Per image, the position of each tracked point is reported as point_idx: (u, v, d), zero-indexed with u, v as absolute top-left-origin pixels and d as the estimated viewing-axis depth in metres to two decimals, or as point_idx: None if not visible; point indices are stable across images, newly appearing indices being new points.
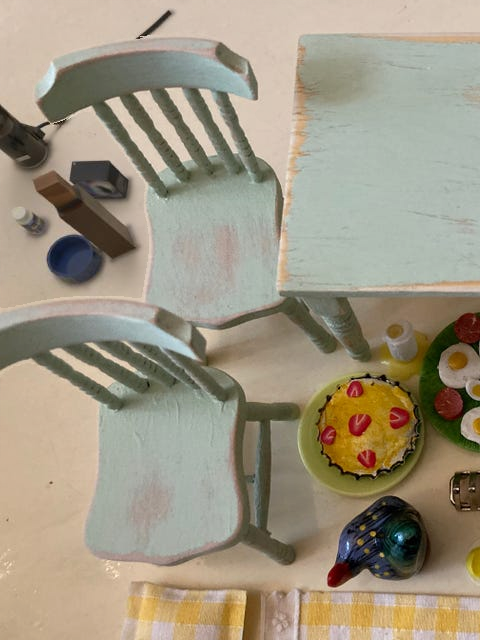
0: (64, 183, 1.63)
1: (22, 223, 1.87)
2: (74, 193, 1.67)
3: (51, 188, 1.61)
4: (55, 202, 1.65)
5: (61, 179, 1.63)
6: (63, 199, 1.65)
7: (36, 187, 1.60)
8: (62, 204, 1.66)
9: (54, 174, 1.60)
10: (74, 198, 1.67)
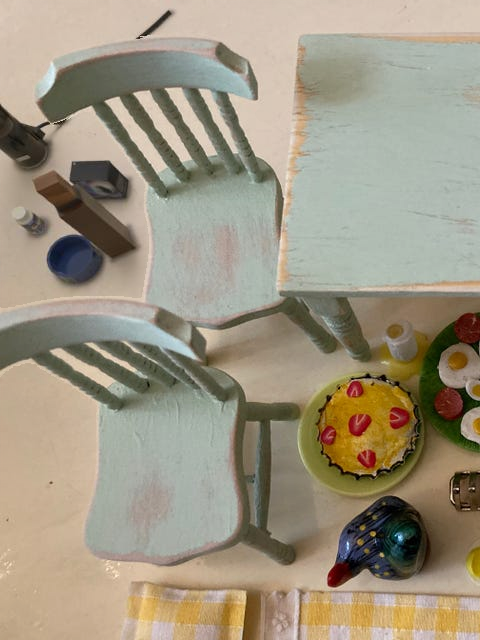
0: (64, 183, 1.63)
1: (22, 223, 1.87)
2: (74, 193, 1.67)
3: (51, 188, 1.61)
4: (55, 202, 1.65)
5: (61, 179, 1.63)
6: (63, 199, 1.65)
7: (36, 187, 1.60)
8: (62, 204, 1.66)
9: (54, 174, 1.60)
10: (74, 198, 1.67)
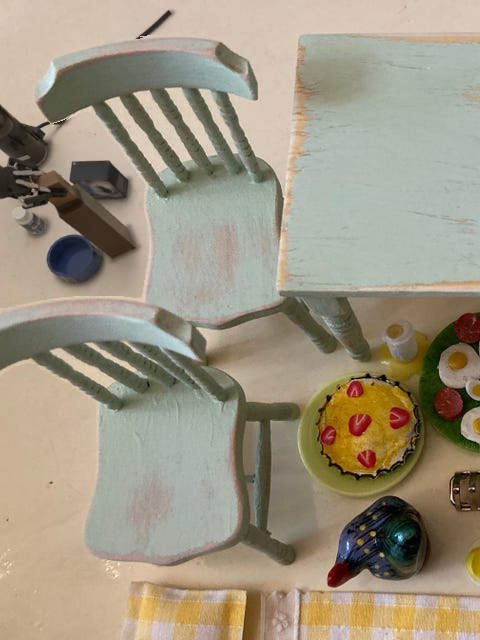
0: (64, 183, 1.63)
1: (22, 223, 1.87)
2: (74, 193, 1.67)
3: None
4: (55, 202, 1.65)
5: (61, 179, 1.63)
6: (63, 199, 1.65)
7: None
8: (62, 204, 1.66)
9: (54, 174, 1.60)
10: (74, 198, 1.67)
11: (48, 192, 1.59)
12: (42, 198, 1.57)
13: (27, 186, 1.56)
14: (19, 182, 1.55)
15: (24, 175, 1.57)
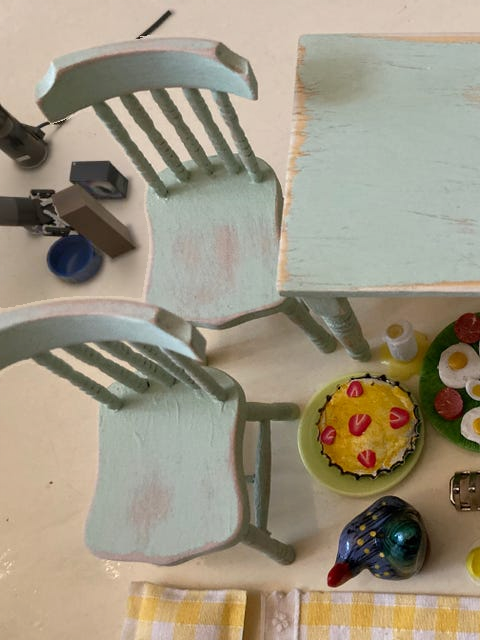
0: None
1: None
2: None
3: None
4: None
5: None
6: None
7: None
8: None
9: None
10: None
11: (69, 226, 1.82)
12: (62, 230, 1.80)
13: (53, 215, 1.81)
14: (46, 212, 1.79)
15: (49, 203, 1.82)
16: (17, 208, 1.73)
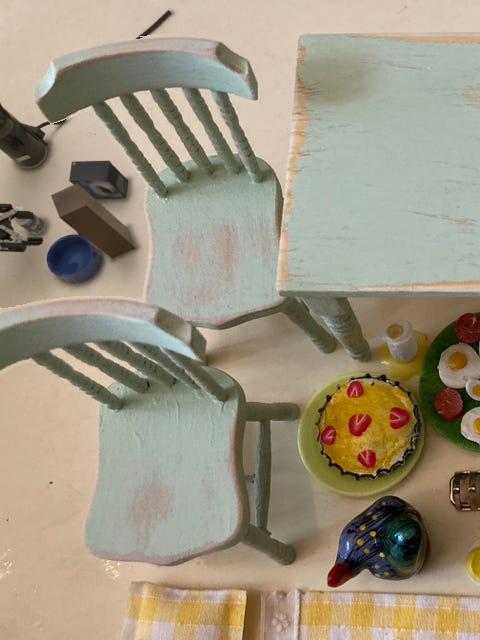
0: None
1: (21, 223, 1.87)
2: None
3: None
4: None
5: None
6: None
7: None
8: None
9: None
10: None
11: (25, 241, 1.80)
12: (18, 245, 1.77)
13: (8, 230, 1.78)
14: (1, 227, 1.76)
15: (5, 218, 1.79)
16: None
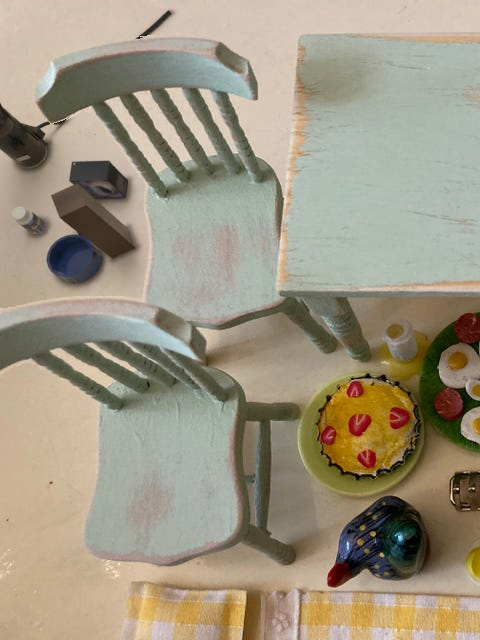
0: None
1: (22, 223, 1.87)
2: None
3: None
4: None
5: None
6: None
7: None
8: None
9: None
10: None
11: None
12: None
13: None
14: None
15: None
16: None
